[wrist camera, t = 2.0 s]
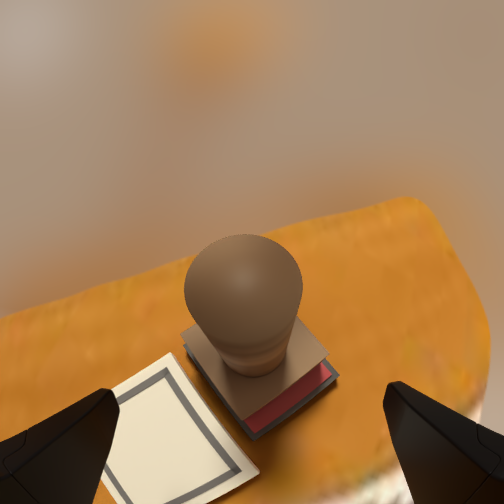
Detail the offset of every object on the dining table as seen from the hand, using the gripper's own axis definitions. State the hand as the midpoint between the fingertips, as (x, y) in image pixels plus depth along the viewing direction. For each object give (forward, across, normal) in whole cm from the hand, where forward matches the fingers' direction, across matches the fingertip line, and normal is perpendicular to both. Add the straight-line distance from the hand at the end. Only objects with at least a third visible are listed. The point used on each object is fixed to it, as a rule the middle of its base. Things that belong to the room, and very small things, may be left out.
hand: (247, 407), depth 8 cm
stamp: (+9, 0, +4) cm, 10 cm away
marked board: (+5, +7, +10) cm, 13 cm away
